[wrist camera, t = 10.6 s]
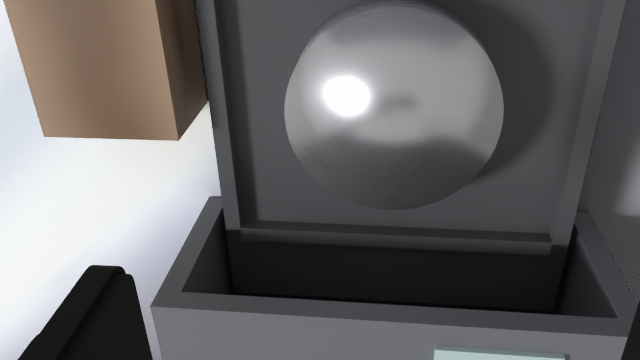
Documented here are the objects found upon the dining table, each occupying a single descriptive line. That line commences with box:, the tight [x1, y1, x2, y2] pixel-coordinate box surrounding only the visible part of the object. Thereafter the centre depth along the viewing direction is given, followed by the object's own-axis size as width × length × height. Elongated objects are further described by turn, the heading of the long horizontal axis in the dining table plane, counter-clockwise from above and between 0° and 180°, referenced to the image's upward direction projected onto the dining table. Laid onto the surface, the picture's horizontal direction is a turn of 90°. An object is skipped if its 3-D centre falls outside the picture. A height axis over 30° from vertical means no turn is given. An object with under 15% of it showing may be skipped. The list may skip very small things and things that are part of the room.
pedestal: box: [3, 0, 207, 141], centre depth 20 cm, size 5×5×4 cm
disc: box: [284, 0, 504, 210], centre depth 19 cm, size 7×7×2 cm
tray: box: [195, 0, 626, 311], centre depth 19 cm, size 14×17×5 cm
